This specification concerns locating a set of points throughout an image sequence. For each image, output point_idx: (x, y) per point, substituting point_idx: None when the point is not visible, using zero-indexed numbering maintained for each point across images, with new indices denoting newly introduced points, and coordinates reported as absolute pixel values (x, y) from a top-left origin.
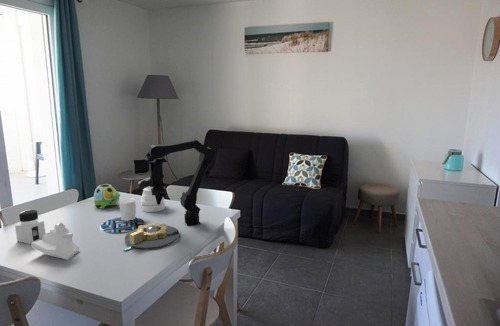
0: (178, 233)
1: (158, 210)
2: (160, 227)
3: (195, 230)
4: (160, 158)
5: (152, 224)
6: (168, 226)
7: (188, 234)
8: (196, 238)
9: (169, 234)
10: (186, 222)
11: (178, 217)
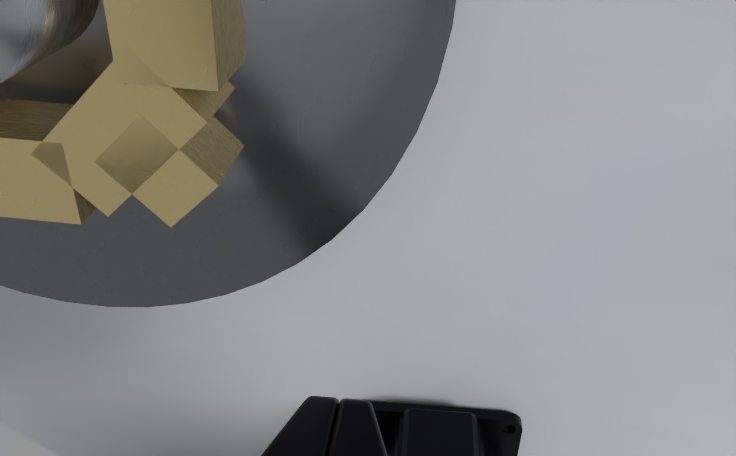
0: (37, 293)
1: None
2: (52, 130)
3: (210, 430)
4: None
5: (178, 6)
6: (309, 229)
7: (113, 359)
8: (5, 394)
9: None
10: (403, 424)
11: (721, 381)
